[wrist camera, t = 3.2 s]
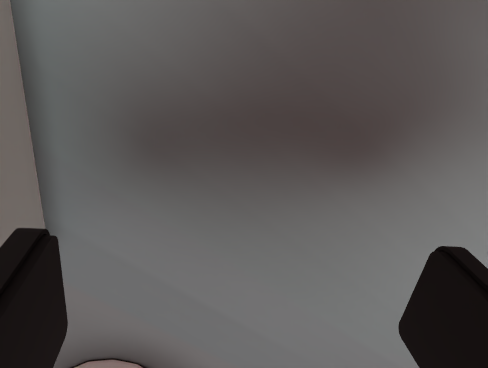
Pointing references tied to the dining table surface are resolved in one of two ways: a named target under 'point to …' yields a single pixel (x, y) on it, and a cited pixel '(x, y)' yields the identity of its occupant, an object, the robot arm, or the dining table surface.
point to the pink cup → (108, 364)
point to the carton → (15, 140)
